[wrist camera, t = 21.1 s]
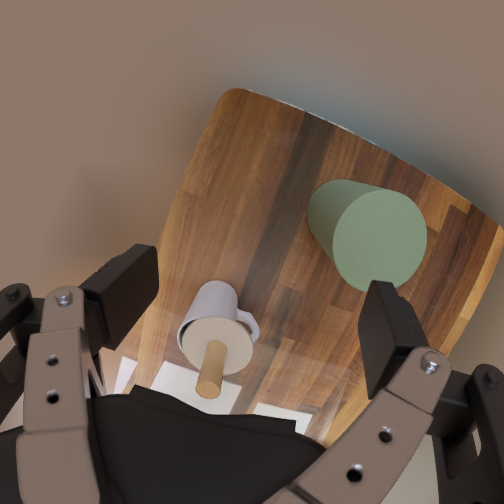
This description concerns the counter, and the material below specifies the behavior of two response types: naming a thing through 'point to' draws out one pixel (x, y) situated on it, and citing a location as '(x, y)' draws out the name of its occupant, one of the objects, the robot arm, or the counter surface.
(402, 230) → the cylinder
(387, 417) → the robot arm
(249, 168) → the counter surface
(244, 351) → the lid
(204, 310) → the mug
